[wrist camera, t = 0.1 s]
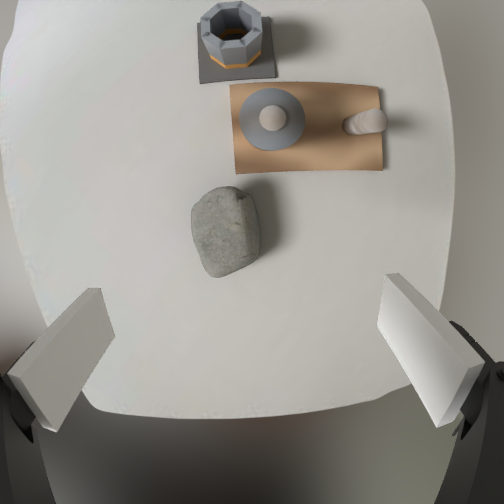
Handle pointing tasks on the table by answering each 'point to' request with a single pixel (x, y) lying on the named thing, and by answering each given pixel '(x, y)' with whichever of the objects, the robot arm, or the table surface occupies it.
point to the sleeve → (232, 22)
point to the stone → (225, 230)
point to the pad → (256, 70)
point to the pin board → (306, 127)
